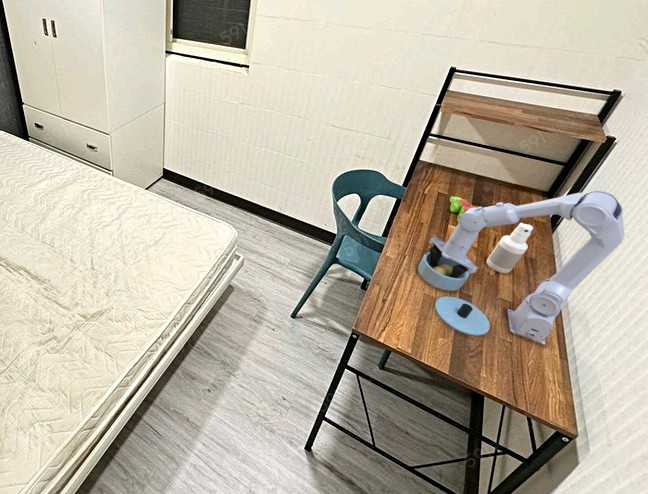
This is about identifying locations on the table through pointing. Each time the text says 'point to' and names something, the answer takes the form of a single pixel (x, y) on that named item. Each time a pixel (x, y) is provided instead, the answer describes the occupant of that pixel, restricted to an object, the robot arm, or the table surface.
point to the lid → (462, 316)
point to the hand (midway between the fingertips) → (441, 272)
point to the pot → (439, 279)
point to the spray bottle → (510, 249)
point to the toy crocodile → (459, 206)
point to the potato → (444, 269)
